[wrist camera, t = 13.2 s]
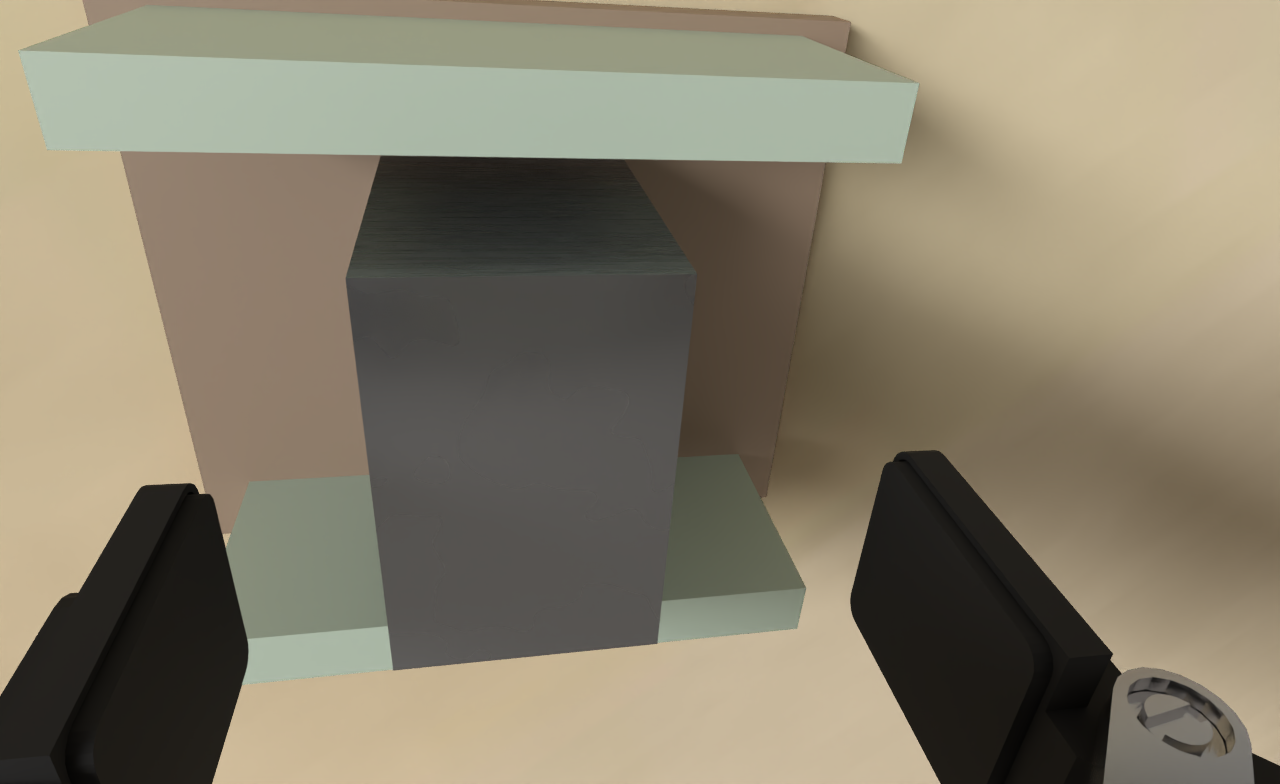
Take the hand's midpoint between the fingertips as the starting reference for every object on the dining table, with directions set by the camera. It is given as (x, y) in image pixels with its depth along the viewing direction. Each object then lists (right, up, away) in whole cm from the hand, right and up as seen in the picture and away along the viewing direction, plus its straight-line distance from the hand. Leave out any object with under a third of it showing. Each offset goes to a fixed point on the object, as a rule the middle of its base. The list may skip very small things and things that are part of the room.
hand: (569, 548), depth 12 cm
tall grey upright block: (-2, +4, +7) cm, 8 cm away
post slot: (-2, +5, +7) cm, 9 cm away
